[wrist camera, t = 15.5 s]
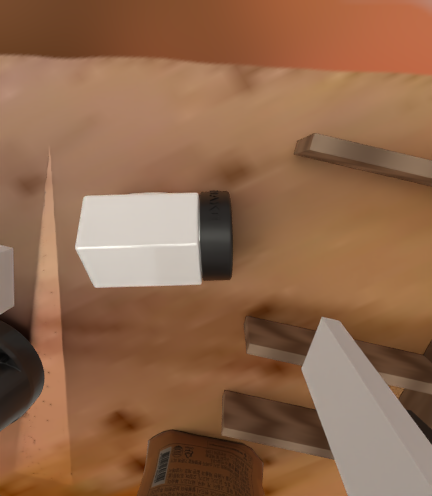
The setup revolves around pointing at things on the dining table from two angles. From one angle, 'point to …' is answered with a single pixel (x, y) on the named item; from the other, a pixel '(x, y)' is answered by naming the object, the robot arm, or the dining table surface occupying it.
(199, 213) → the jar
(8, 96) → the dining table surface
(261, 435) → the lane organizer
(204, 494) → the pancake mix bag
